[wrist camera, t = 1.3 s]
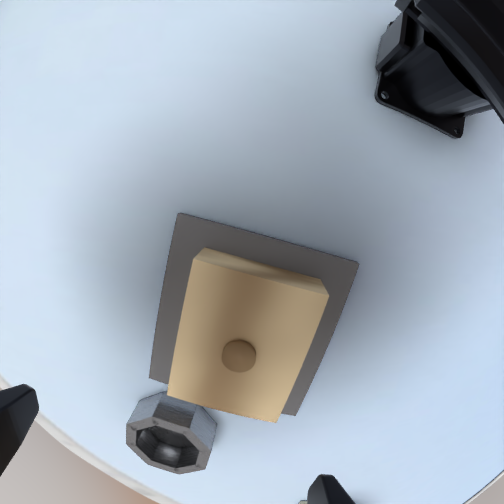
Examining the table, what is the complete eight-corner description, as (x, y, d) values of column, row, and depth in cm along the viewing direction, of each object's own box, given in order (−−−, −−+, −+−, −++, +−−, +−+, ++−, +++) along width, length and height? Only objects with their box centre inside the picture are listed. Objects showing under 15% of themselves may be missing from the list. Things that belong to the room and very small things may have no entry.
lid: (320, 279, 18) (331, 299, 15) (275, 396, 20) (276, 428, 17) (204, 247, 18) (190, 261, 15) (177, 371, 20) (164, 399, 17)
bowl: (221, 408, 21) (216, 435, 18) (206, 455, 22) (201, 480, 19) (141, 383, 21) (127, 407, 18) (137, 433, 22) (126, 456, 19)
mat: (356, 262, 18) (359, 264, 18) (295, 411, 21) (295, 415, 20) (179, 212, 18) (177, 213, 17) (151, 374, 21) (148, 377, 20)
